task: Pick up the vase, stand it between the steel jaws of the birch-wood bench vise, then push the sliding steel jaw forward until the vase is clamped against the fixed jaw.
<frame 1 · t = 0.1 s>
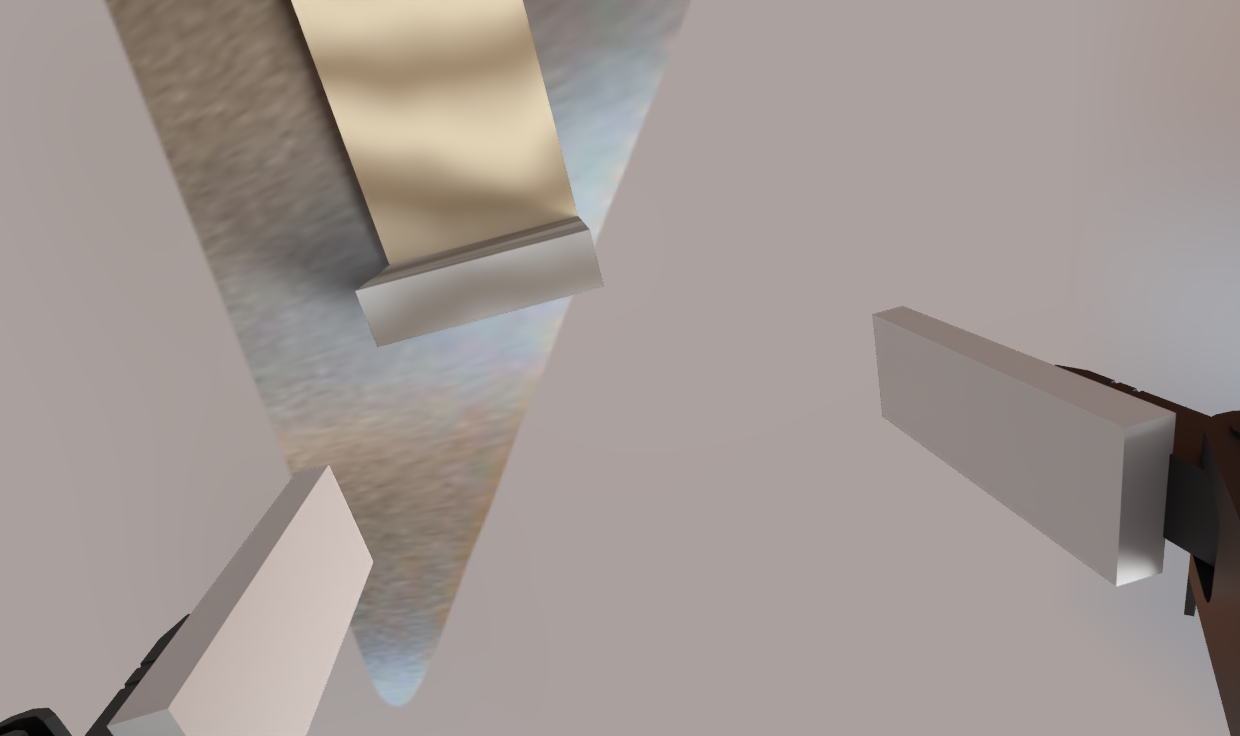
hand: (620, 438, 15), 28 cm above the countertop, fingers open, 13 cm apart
vise: (431, 61, 36), on the countertop
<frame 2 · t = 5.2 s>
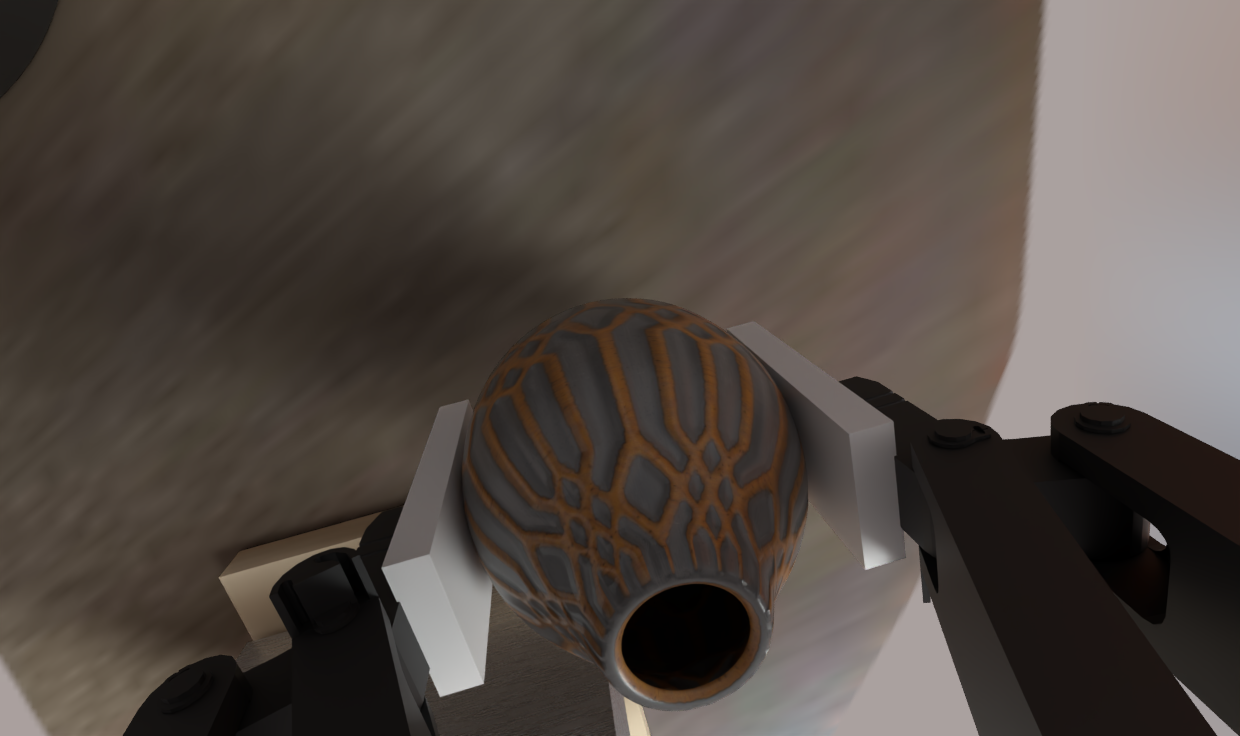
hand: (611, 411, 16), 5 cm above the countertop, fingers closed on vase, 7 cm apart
vase: (609, 399, 17), point 5 cm above the countertop, touching gripper
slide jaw: (413, 723, 18), point 6 cm above the countertop, slide at 0.0 cm
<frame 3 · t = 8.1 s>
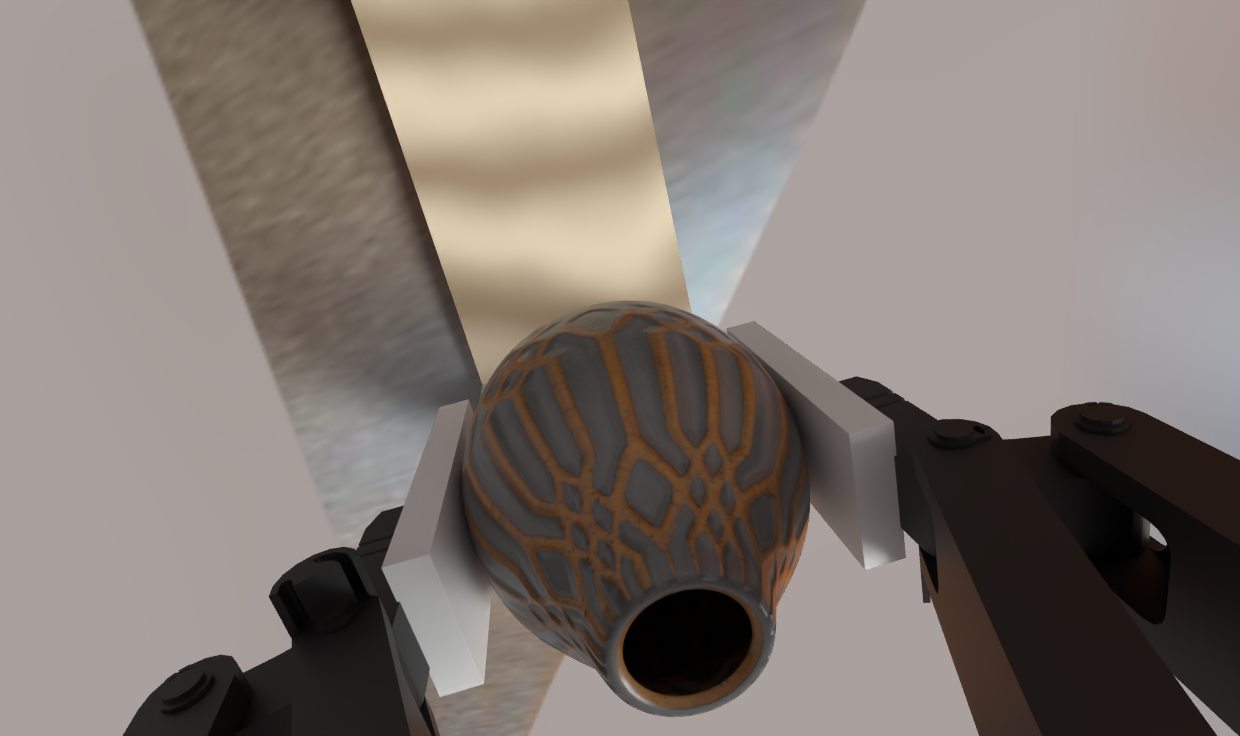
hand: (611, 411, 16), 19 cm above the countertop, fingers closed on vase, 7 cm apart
vise: (535, 158, 31), on the countertop
vase: (609, 401, 17), point 18 cm above the countertop, touching gripper
when the fingers open (3 cm above the countertop, at t = 11.3 s): vase drops 1 cm, resting on vise.
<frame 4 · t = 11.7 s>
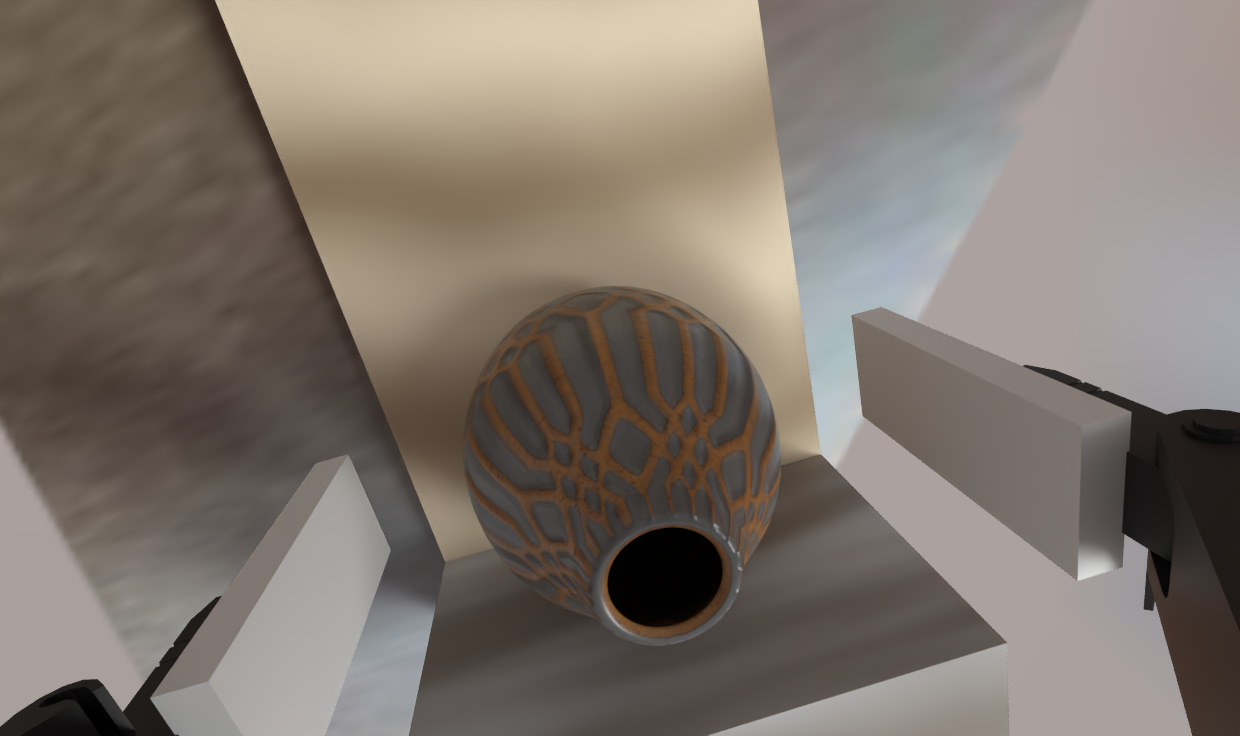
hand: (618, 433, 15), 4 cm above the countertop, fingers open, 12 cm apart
vise: (541, 156, 17), on the countertop
vase: (600, 385, 18), point 1 cm above the countertop, touching vise
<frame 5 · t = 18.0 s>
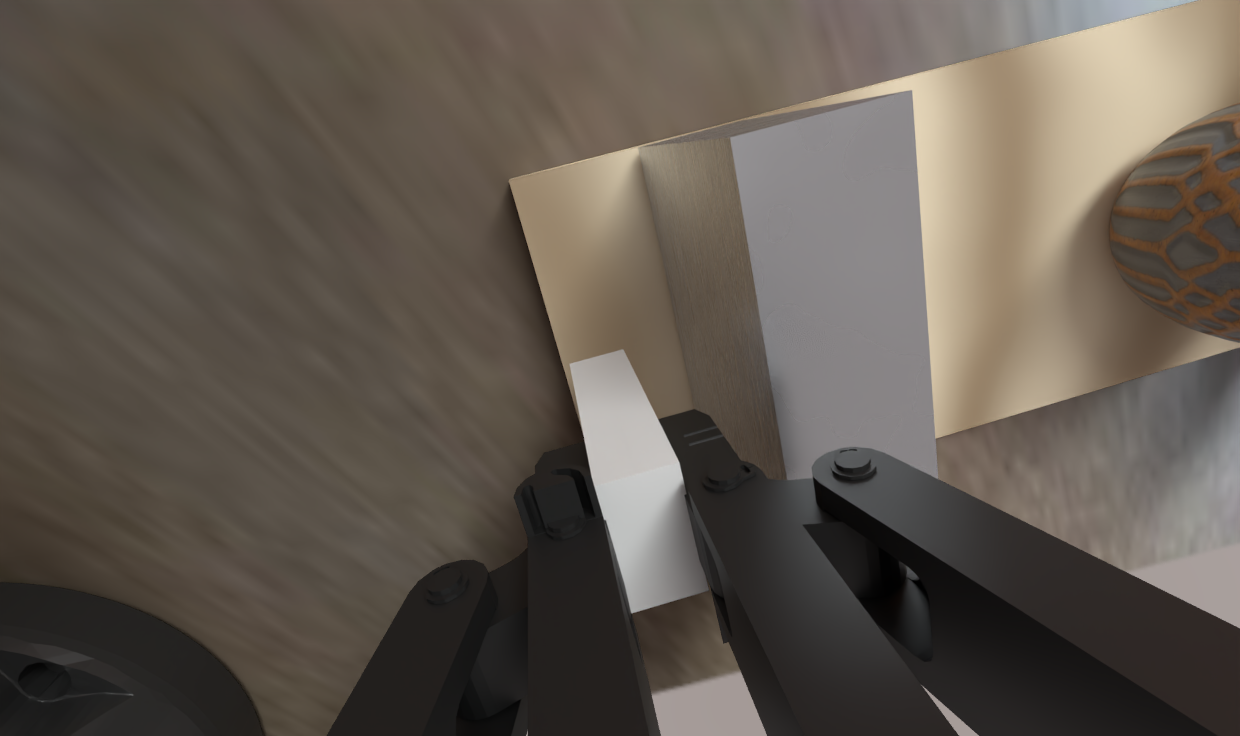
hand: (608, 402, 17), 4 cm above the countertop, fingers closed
vise: (953, 252, 21), on the countertop
vase: (1157, 211, 21), point 1 cm above the countertop, touching vise
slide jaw: (777, 377, 15), point 6 cm above the countertop, slide at 1.2 cm, touching gripper
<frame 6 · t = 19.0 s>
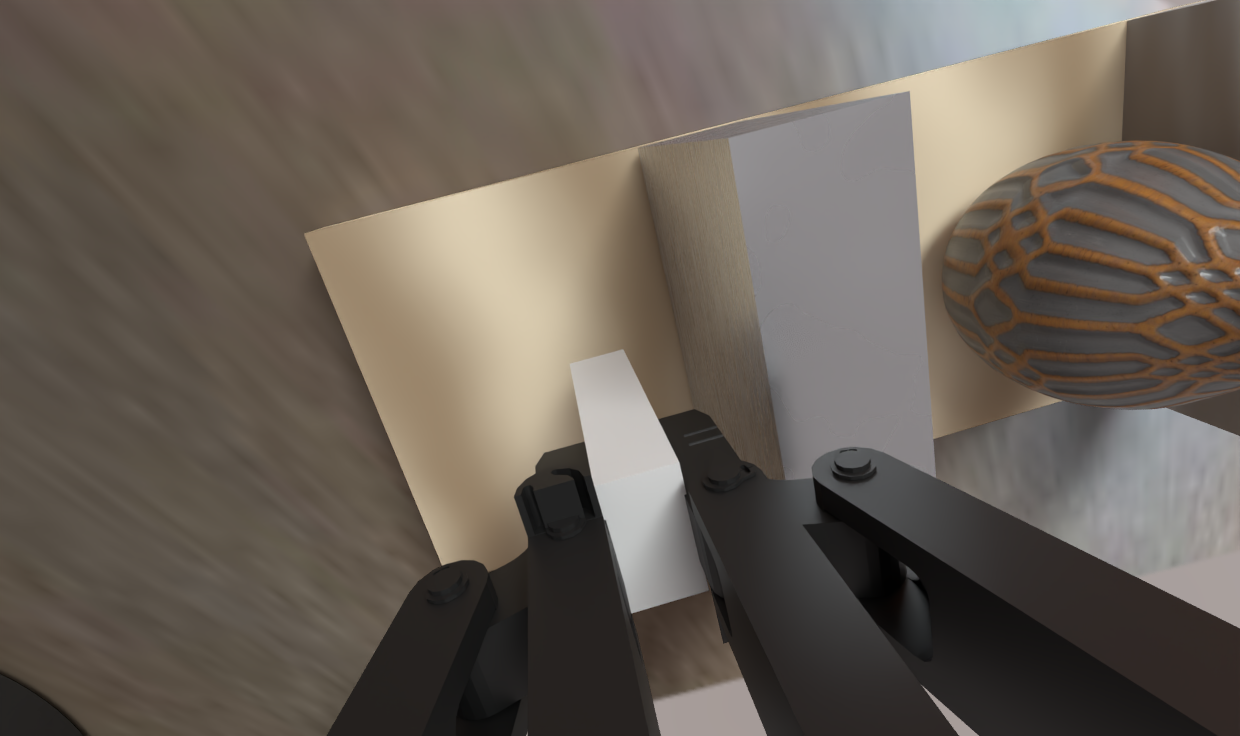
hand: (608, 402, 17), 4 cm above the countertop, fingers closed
vise: (797, 296, 21), on the countertop
vase: (998, 256, 20), point 1 cm above the countertop, touching vise
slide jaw: (776, 377, 15), point 6 cm above the countertop, slide at 6.9 cm, touching gripper
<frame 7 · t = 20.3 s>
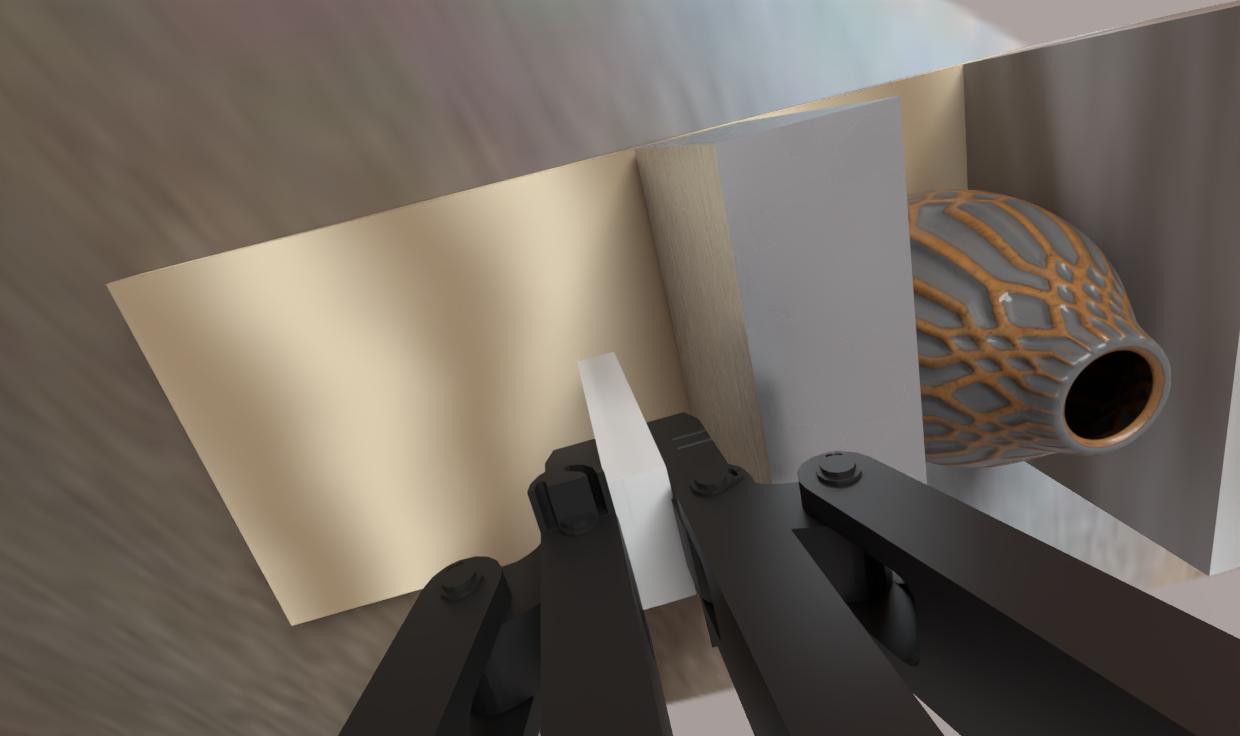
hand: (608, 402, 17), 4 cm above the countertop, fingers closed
vise: (646, 339, 21), on the countertop
vase: (867, 295, 20), point 1 cm above the countertop, touching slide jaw, vise
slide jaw: (771, 382, 15), point 6 cm above the countertop, slide at 12.2 cm, touching gripper, vase
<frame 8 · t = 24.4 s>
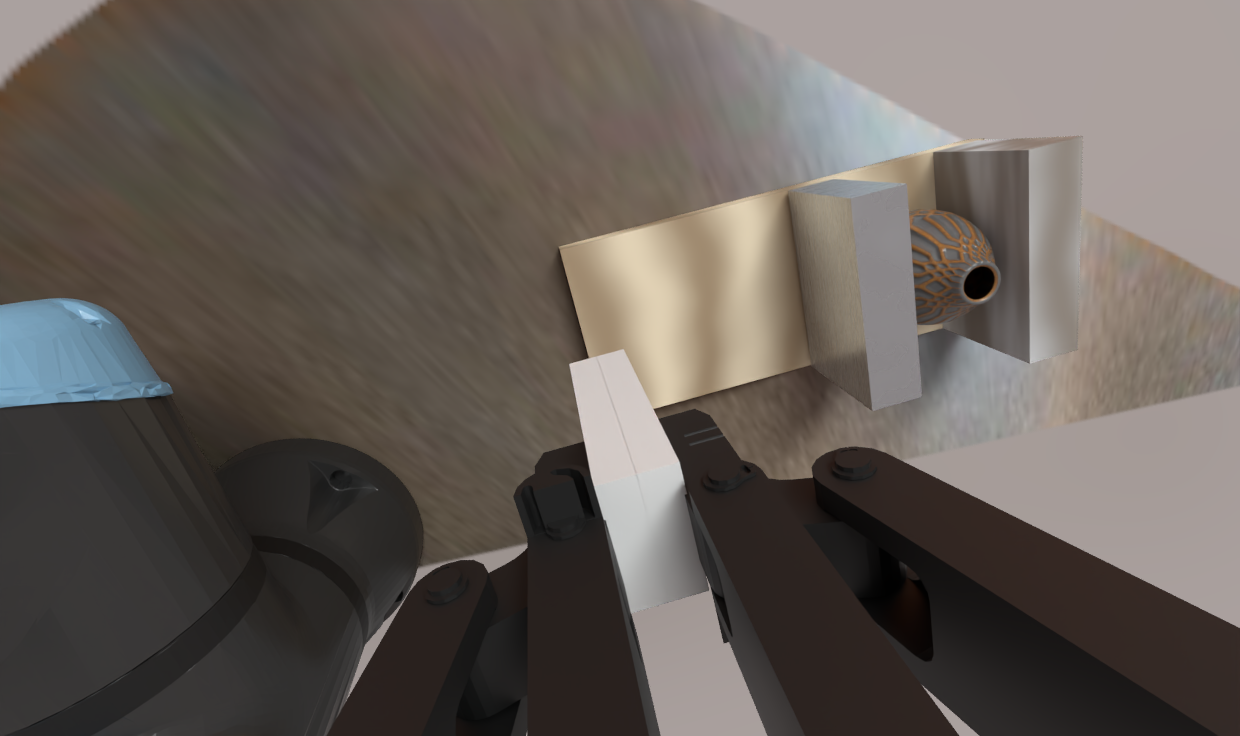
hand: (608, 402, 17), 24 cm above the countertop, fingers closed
vise: (780, 280, 42), on the countertop
vase: (888, 258, 41), point 1 cm above the countertop, touching vise
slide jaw: (851, 289, 37), point 6 cm above the countertop, slide at 12.1 cm
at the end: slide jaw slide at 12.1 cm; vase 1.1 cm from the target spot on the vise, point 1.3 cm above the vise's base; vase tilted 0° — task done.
